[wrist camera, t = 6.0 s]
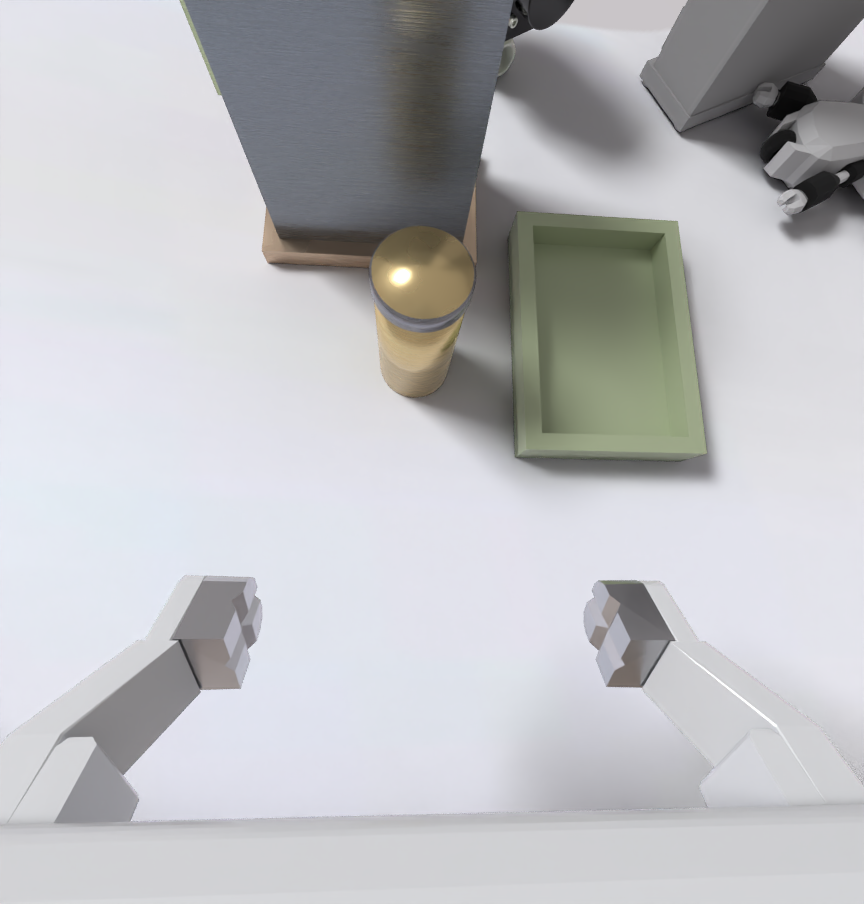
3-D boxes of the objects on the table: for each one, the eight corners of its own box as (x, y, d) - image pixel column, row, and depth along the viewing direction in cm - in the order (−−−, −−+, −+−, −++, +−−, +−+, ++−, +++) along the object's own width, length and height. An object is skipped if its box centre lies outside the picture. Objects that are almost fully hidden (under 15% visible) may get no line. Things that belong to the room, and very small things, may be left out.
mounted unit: (473, 273, 30) (626, -288, 10) (267, 262, 29) (-43, -387, 9) (472, 153, 32) (595, -516, 12) (279, 139, 31) (52, -616, 11)
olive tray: (680, 461, 28) (706, 453, 26) (514, 457, 27) (526, 449, 25) (656, 246, 31) (677, 221, 29) (507, 237, 31) (517, 211, 28)
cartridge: (449, 400, 28) (477, 322, 18) (377, 397, 27) (366, 317, 18) (449, 334, 29) (475, 227, 19) (380, 331, 28) (370, 220, 19)
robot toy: (752, 245, 33) (944, 237, 33) (801, 200, 29) (1023, 191, 29) (723, 116, 36) (902, 108, 36) (765, 55, 31) (969, 47, 31)
